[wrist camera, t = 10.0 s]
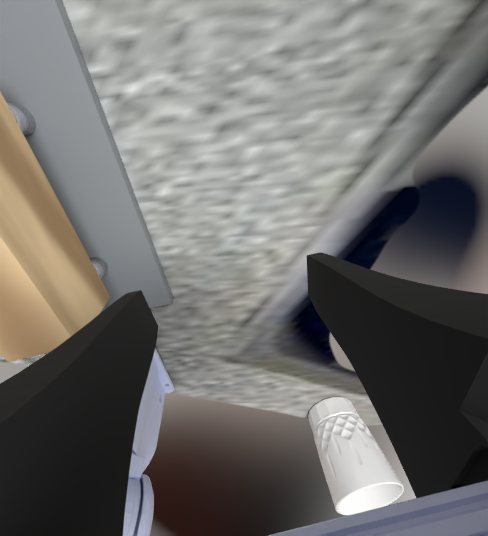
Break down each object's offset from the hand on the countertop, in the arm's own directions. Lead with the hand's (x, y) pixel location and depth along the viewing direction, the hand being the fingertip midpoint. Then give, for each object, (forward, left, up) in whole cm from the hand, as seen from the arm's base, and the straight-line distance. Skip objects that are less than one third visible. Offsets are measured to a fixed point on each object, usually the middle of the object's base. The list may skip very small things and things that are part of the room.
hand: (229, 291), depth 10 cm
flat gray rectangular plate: (+4, +11, -10) cm, 16 cm away
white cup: (-31, -10, -11) cm, 34 cm away
